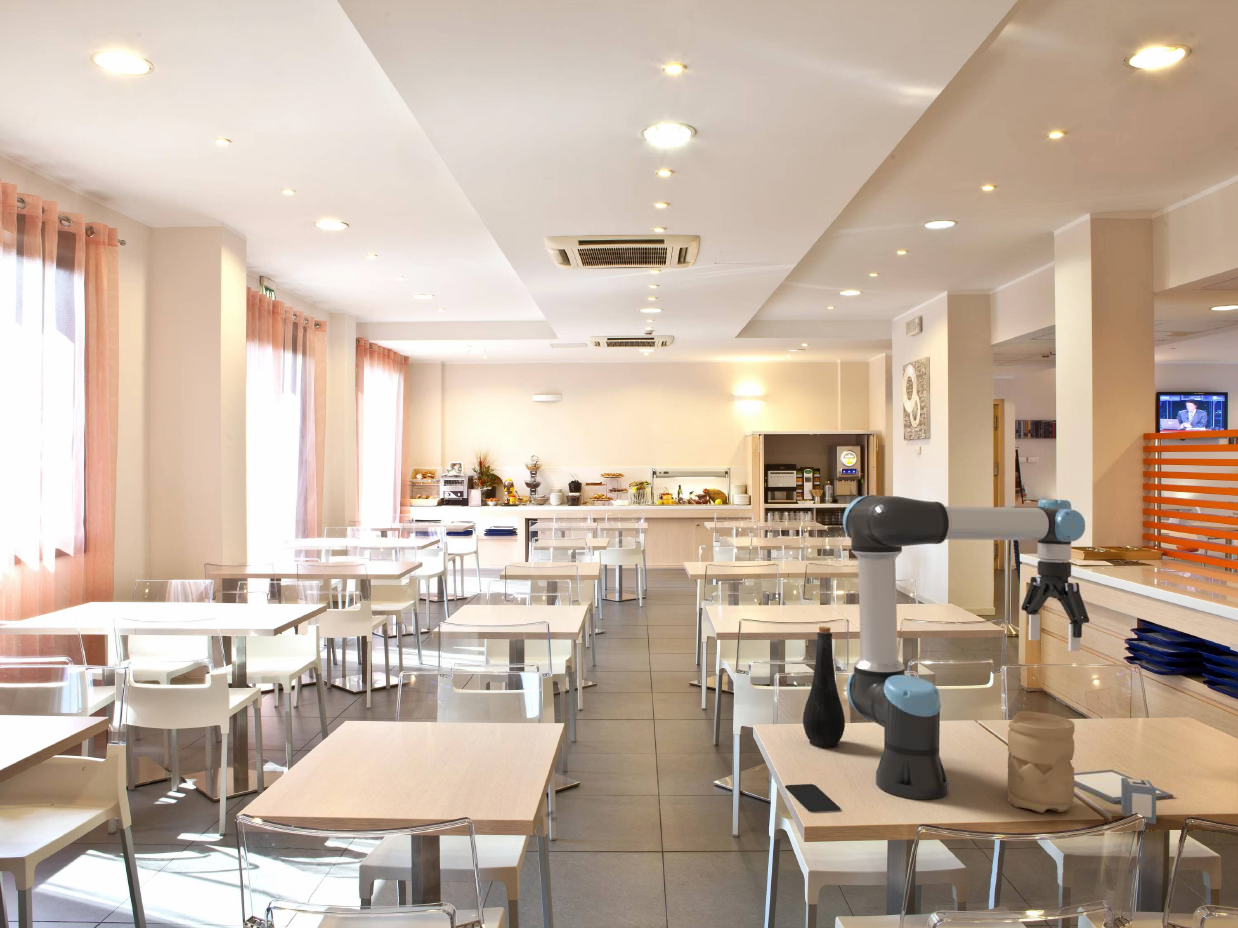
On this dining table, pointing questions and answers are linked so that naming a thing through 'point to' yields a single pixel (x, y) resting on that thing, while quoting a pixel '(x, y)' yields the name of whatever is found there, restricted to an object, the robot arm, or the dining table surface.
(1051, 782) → the container
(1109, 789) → the grey bordered square plate
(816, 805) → the smartphone
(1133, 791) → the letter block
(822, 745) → the bottle
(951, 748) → the dining table surface
